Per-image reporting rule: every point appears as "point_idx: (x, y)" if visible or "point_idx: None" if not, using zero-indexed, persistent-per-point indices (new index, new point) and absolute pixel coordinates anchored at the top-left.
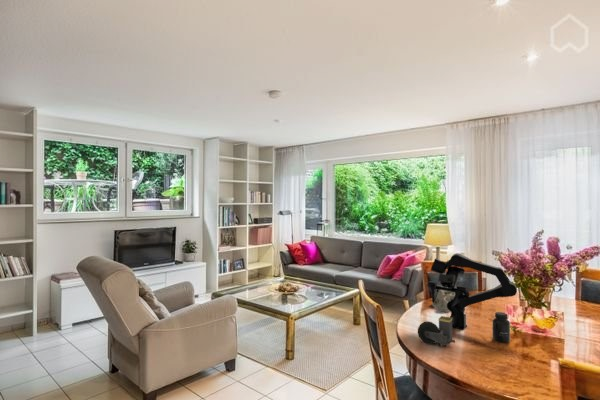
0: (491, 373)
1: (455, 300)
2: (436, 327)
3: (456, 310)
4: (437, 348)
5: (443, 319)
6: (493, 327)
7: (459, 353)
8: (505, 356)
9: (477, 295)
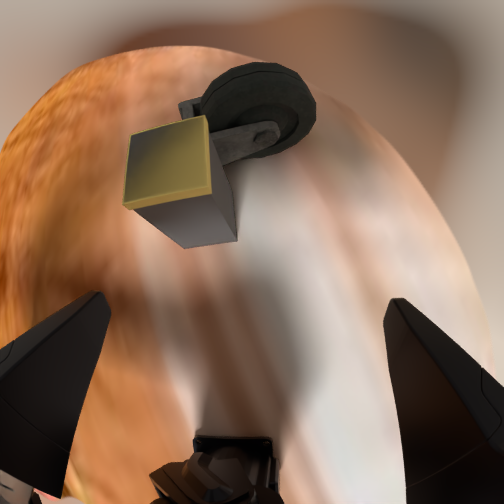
0: (65, 113)
1: (27, 339)
2: (207, 95)
3: (190, 478)
4: None
5: (170, 125)
6: None
7: None
8: (28, 234)
9: None
